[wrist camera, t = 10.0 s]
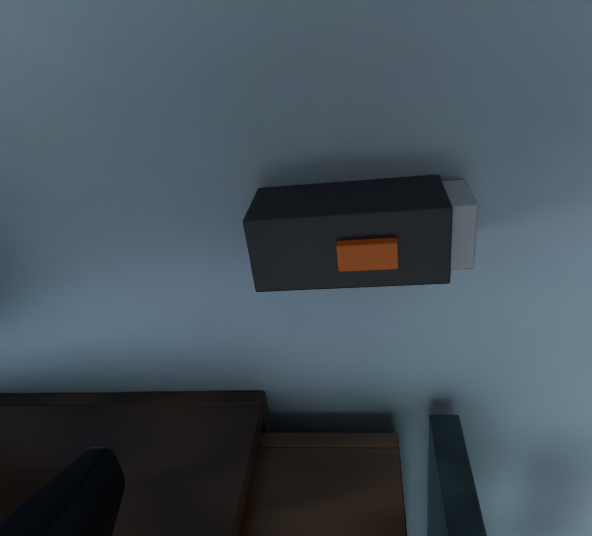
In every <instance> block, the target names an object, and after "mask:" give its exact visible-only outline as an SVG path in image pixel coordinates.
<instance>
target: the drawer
mask: <svg viewBox="0 0 592 536" xmlns="http://www.w3.org/2000/svg"><path fill="white" fill-rule="evenodd" d="M238 536H407V529H406V518H405V506H404V495H403V484H402V472H401V461H400V451H399V438H398V434H397V433H260V437H259V442H258V446H257V451H256V456H255V460H254V465H253V469H252V474H251V479H250V483H249V488H248V493H247V497H246V502H245V506H244V511H243V516H242V520H241V525H240V530H239V534H238ZM427 536H487V535H486V531H485V526H484V522H483V518H482V513H481V509H480V505H479V500H478V496H477V492H476V487H475V483H474V479H473V474H472V470H471V466H470V461H469V457H468V453H467V448H466V444H465V440H464V435H463V431H462V427H461V422H460V418H459V416H458V415H430V416H429V466H428V531H427Z"/></svg>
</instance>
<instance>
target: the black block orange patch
mask: <svg viewBox="0 0 592 536" xmlns="http://www.w3.org/2000/svg"><path fill="white" fill-rule="evenodd" d="M477 213H478V205H477V203H476V201H475V199H474V197H473V195H472V193H471V191H470V190H469V188H468V186H467V184H466V182H465V180H452V181H441V178H440V176H439V175H428V176H414V177H401V178H388V179H375V180H361V181H348V182H335V183H322V184H308V185H295V186H282V187H269V188H259V189H258V190H257V192H256V195H255V197H254V199H253V201H252V203H251V205H250V207H249V209H248V211H247V213H246V216H245V218H244V220H243V225H244V230H245V236H246V241H247V247H248V252H249V257H250V263H251V268H252V274H253V279H254V285H255V290H256V292H266V291H288V290H311V289H334V288H357V287H380V286H403V285H426V284H448V283H450V274H451V270H453V269H472V268H474V261H475V245H476V229H477Z"/></svg>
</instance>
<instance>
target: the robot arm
mask: <svg viewBox="0 0 592 536" xmlns="http://www.w3.org/2000/svg"><path fill="white" fill-rule="evenodd" d="M124 490H125V476H124V473H123V470H122V468H121V466H120V463H119V461H118V459H117V456H116V454H115V452H114V450H113V449H112V448H110V447H90V448H88V449H86V450H85V451H84V452H83V453H81V454H80V455H79V456H78V457H77V458H75V459H74V460H73V461H72V462H71V463H70V464H68V465H67V466H66V467H65V468H64V469H63V470H61V471H60V472H59V473H58V474H57V475H55V476H54V477H53V478H52V479H51V480H50V481H48V482H47V483H46V484H45V485H44V486H42V487H41V488H40V489H39V490H38V491H37V492H35V493H34V494H33V495H32V496H31V497H30V498H28V499H27V500H26V501H25V502H24V503H22V504H21V505H20V506H19V507H18V508H17V509H15V510H14V511H13V512H12V513H11V514H9V515H8V516H7V517H6V518H5V519H4V520H2V521H1V522H0V536H112V535H113V531H114V527H115V524H116V520H117V516H118V512H119V509H120V505H121V501H122V497H123V494H124Z"/></svg>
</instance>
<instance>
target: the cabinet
mask: <svg viewBox="0 0 592 536" xmlns="http://www.w3.org/2000/svg"><path fill="white" fill-rule="evenodd" d="M260 433H272V429H271V424H270V419H269V414H268V408H267V403H266V398H265V393H264V391H238V392H159V393H80V394H1V395H0V522H1V521H2V520H4V519H5V518H6V517H7V516H8V515H9V514H11V513H12V512H13V511H14V510H15V509H17V508H18V507H19V506H20V505H21V504H22V503H24V502H25V501H26V500H27V499H28V498H30V497H31V496H32V495H33V494H34V493H35V492H37V491H38V490H39V489H40V488H41V487H42V486H44V485H45V484H46V483H47V482H48V481H50V480H51V479H52V478H53V477H54V476H55V475H57V474H58V473H59V472H60V471H61V470H63V469H64V468H65V467H66V466H67V465H68V464H70V463H71V462H72V461H73V460H74V459H75V458H77V457H78V456H79V455H80V454H81V453H83V452H84V451H85V450H86V449H88V448H90V447H110V448H112V449H113V450H114V452H115V454H116V456H117V459H118V461H119V463H120V466H121V468H122V470H123V473H124V476H125V490H124V494H123V497H122V501H121V505H120V509H119V512H118V516H117V520H116V524H115V527H114V531H113V535H112V536H238V534H239V530H240V525H241V520H242V516H243V511H244V506H245V502H246V497H247V493H248V488H249V483H250V479H251V474H252V469H253V465H254V460H255V456H256V451H257V446H258V442H259V437H260Z"/></svg>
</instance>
